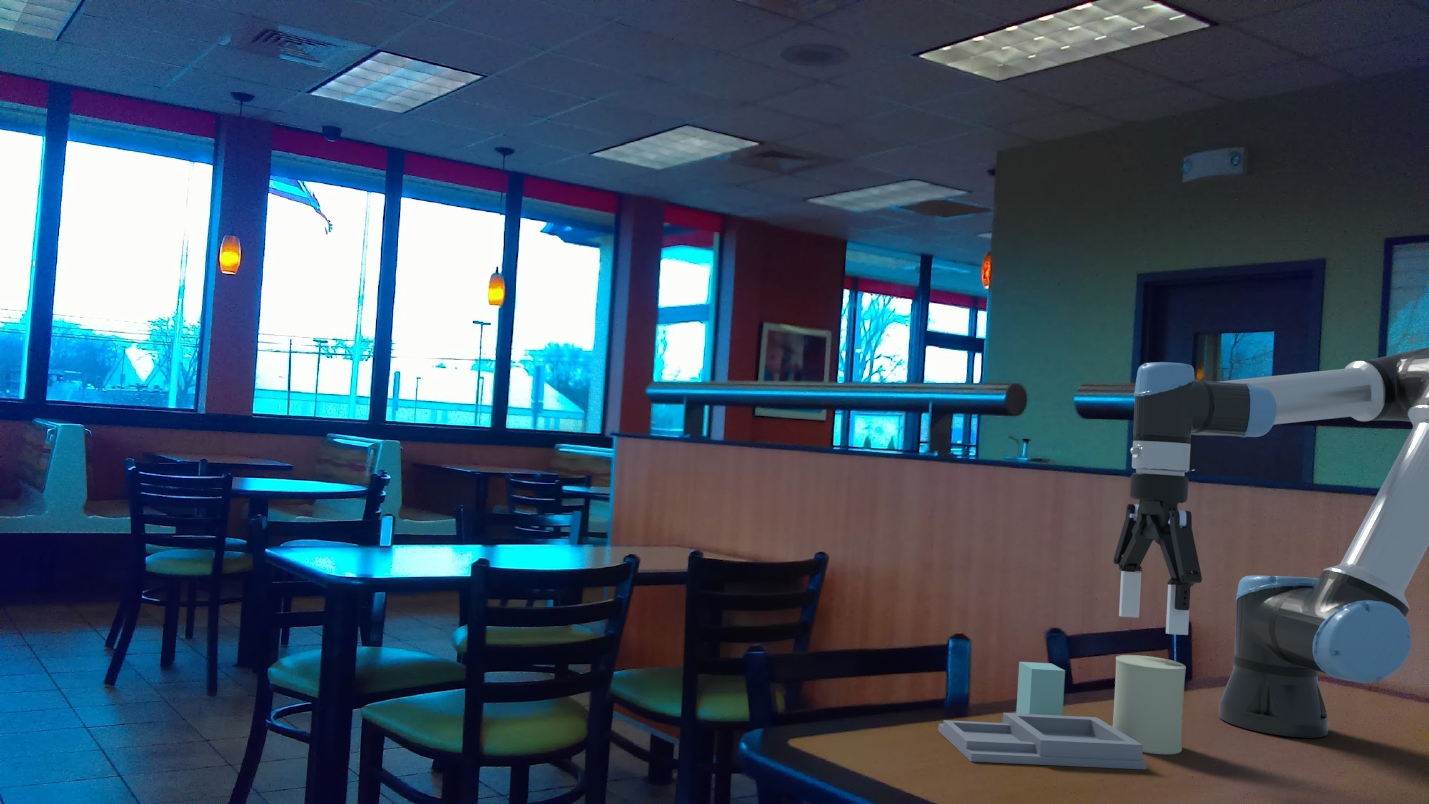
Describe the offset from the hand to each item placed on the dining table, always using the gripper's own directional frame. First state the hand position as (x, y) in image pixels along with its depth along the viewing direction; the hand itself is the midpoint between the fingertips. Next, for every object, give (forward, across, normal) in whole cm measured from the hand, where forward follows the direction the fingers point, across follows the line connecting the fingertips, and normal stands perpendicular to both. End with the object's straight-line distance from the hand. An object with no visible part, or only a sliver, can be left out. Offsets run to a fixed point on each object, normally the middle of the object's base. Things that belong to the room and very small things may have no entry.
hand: (1151, 625), depth 151 cm
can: (+17, 0, 0) cm, 17 cm away
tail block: (+16, -11, -11) cm, 23 cm away
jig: (+16, +5, -18) cm, 25 cm away
